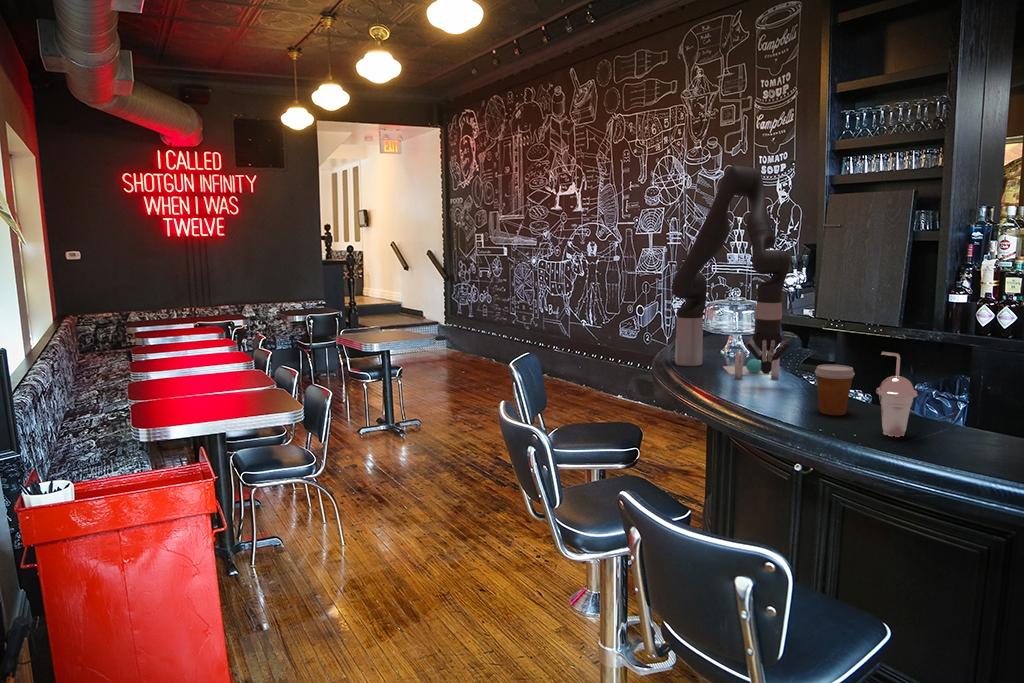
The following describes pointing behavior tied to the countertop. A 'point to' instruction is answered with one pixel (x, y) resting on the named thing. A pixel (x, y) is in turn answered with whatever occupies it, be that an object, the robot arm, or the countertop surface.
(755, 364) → the ball
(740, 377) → the post
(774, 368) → the post
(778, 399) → the countertop surface
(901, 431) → the cup with straw
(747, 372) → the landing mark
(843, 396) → the disposable coffee cup
